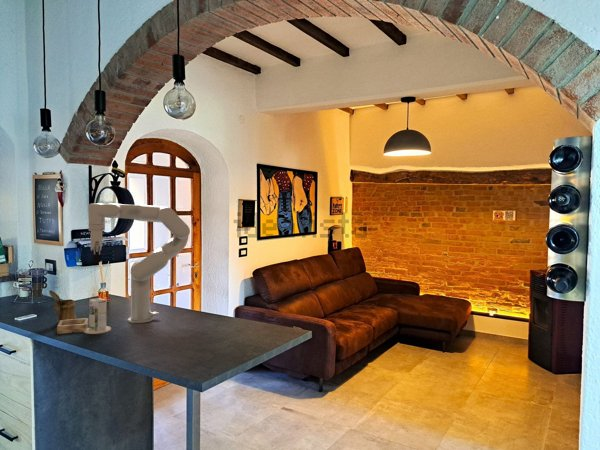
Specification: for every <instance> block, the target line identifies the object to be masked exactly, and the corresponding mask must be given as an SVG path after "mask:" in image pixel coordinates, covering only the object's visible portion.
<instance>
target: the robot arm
mask: <svg viewBox="0 0 600 450" xmlns="http://www.w3.org/2000/svg"><path fill="white" fill-rule="evenodd" d="M106 218H108V219H109V218H110V219H116V218H117V219H127V220H128V219H130V220H135V221H140V222H149V223H150V222H152V223H162V225H164V227H165V228H166V229H167V230H169V232H170V233H171V234H172V237H171V238H170V239H169V240H168V241H166V242H165V243H164V244H162V245H160V246H159V247H158V248H156V249H154V250H152V251H151V253H149V255H147V256H146V257H144V258H143V259H142V260H137V261H135V262H134V263H133V264H132V265H131V267H130V317H128V318H127V322H128V323H130V324H145V323H149V322H152V321H153V320H154V317H159V316H160V312H157V311H153V312H152V311H151V277H153V276H154V275H155V274H157V273H158V272H160V271H161V270H163V269H164V268H165V267H166V266H167V265H168V262H169V261H170V260H171V259H173V258H174V257H175V256H177V255H178V254H179V253H181V252H182V251H183V250H184V248H185V247H186V246H187V244H188V241H189V237H190V233H191V230H190V227H189V225H188V224H187V223H186V222H185V221H184V220H183V219H182V218H181V217H180V216H179V215H178V214H177V212H175V210H174V209H172V207H168V206H159V205H158V206H157V205H148V204H125V203H124V204H122V203H115V202H113V203H112V202H111V203H89V204H88V231H89V232H90V251H93V253H92V254H93V255H92V256H93V263H101V262H102V261H101V259H102V258H101V257H102V256H101V250H102V249H103V248H102V247H103V231H105V230H106Z"/></svg>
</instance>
